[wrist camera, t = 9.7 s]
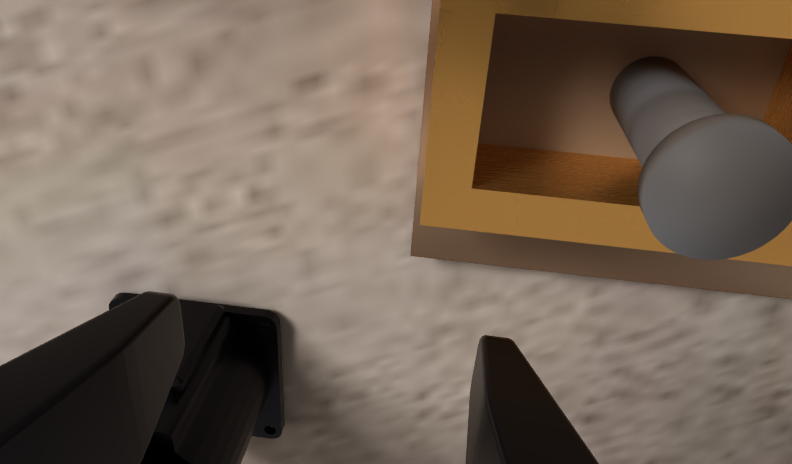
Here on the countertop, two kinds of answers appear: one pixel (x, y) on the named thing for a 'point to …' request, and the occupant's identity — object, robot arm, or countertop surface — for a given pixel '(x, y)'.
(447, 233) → the keeper board
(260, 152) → the countertop surface
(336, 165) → the countertop surface
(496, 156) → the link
